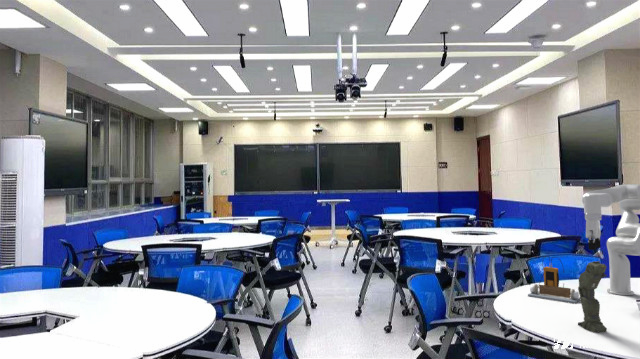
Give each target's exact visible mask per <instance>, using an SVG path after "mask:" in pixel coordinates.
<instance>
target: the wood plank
mask: <svg viewBox="0 0 640 359" xmlns="http://www.w3.org/2000/svg"><path fill="white" fill-rule="evenodd" d="M538 286H539V288H538V291H539V294H547V295H554V296H560V297H566V298H570V296H571V290H572V289H571V288H569V287H564V288H563V286H559V287H556V286H547V285H544V284H538Z"/></svg>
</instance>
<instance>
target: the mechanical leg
mask: <svg viewBox="0 0 640 359" xmlns="http://www.w3.org/2000/svg"><path fill="white" fill-rule="evenodd" d="M607 268H608V267H607V265H606V263H605V264H604V263H601V261H600V260H598V261H591V262H588V263H587V265H586V266H585V270H584V271H583V272H582V273H580V275H579V277H578V287H577V290H578V291H577V292H579V297H580V299H581V300H580V304H581V308H582V313H583V321H580V322H578V323H577V326H579V327H581V328H583V329H586V330H587V331H590V332H593V333H594V332H596V333H607V329H608V328H607V327H606V326H605V325H604V323H603V322H602V321H601V320H602V319H601V318H600V317H601V316H600V310H601V308H600V307H601V306H600V305H601V304H600V301H599V300H598V299H597V298H596V297H595V290H596V289H598V286H599V284H600V282H601V280H602V279H603V278H606V277H607V274H606V270H607Z"/></svg>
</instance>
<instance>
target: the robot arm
mask: <svg viewBox="0 0 640 359" xmlns="http://www.w3.org/2000/svg"><path fill="white" fill-rule="evenodd" d="M581 201H582V204H583V205H584V220H585V238H586V239H587V244H588V248H587V249H588V250H589V251H596V249H599V248H600V249H601V246H602V245H601V235H602V233H601V231H602V230H601V222H600V221H602V208H607V207H609V206H610V207H611V206H612V205H613V204H615V203H618V206H619V211H620V214H621V218H620V220H619V222H618V225H617V227H616V230H615V236H611V237H609V238H608V239H607V240H606V249H607V253H608V262H609V264H608V265H609V288H607V289H606V292H607V293H609V294H612V295H618V296H634V295H635V292H634V291H633V290H631V262H630V260H629V258H628V256H639V257H640V218H639V216H638V214H636V212H634V211H640V184H637V183H636V184H635V183H634V184H633V183H632V184H619V185H616V186H614V187H613V186H612V187H609V188H603V189H597V190H592V191H589V192H588V191H587V192H586V193H584V194H583V196H582V197H581Z"/></svg>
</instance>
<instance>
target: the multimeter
mask: <svg viewBox="0 0 640 359" xmlns="http://www.w3.org/2000/svg"><path fill="white" fill-rule="evenodd" d="M545 257H547V255H545V256H544V257H543V258H542V261H541V262H542V263H541V264H542V266H543V267H542V269H543V274H542V276H541V278H540V280H539V282H538V289H539V285H541V281H542V279H543V285H547V286H556V287H560V276H559V275H560V274H559V268H557V267H553V259H554V258H557V259H558V260H559V261H560V263H561V266H562V270H563V272H565V269H564V265H563V262H562V261H561V259H560V258H559V257H558V256H553V257H552V258H551V257H548V258H549V259H548V260H550V264H549V266H544V259H545ZM550 258H551V259H550ZM562 287H563V288H565V284H563V286H562Z"/></svg>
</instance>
